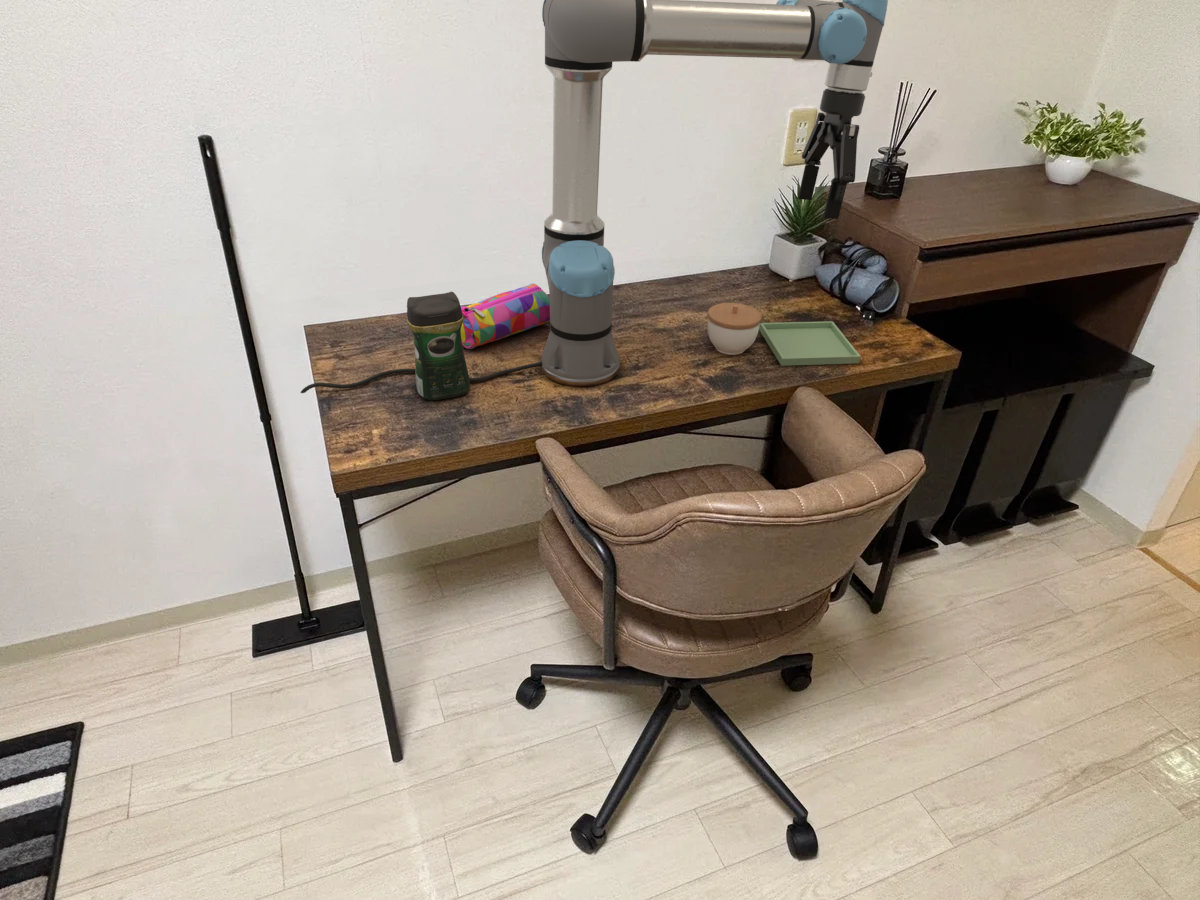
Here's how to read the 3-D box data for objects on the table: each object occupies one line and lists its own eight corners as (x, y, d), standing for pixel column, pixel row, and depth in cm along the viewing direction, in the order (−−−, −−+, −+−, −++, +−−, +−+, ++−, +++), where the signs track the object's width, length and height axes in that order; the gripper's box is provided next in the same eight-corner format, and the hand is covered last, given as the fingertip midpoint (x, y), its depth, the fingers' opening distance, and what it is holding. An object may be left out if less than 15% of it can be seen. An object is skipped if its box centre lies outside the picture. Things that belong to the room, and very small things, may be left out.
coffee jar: (464, 375, 147) (456, 284, 136) (474, 396, 141) (466, 301, 130) (413, 384, 144) (400, 290, 133) (421, 405, 138) (408, 309, 127)
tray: (781, 365, 153) (782, 358, 152) (759, 329, 166) (760, 322, 166) (859, 363, 155) (861, 356, 154) (831, 327, 168) (832, 321, 167)
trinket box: (754, 338, 163) (760, 296, 158) (758, 362, 154) (764, 319, 149) (703, 334, 164) (708, 293, 158) (704, 358, 155) (709, 315, 150)
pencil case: (472, 359, 152) (469, 317, 147) (446, 342, 158) (442, 301, 153) (557, 328, 165) (557, 288, 160) (530, 313, 170) (529, 274, 165)
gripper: (895, 102, 130) (861, 227, 141) (837, 82, 151) (811, 193, 162) (854, 98, 129) (823, 225, 140) (801, 79, 150) (778, 191, 161)
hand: (817, 208), depth 151 cm, fingers open, 13 cm apart
